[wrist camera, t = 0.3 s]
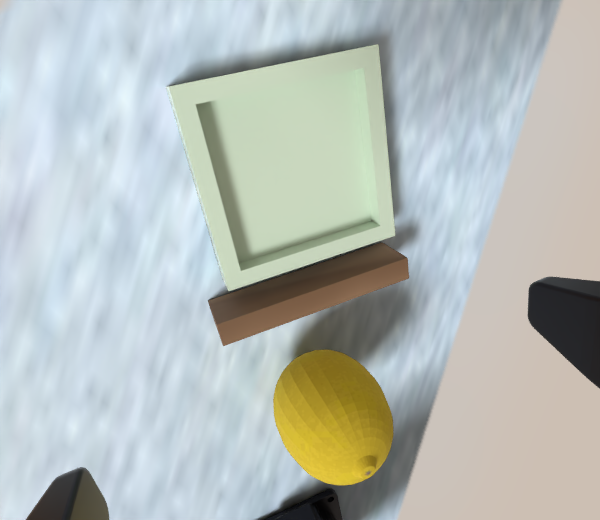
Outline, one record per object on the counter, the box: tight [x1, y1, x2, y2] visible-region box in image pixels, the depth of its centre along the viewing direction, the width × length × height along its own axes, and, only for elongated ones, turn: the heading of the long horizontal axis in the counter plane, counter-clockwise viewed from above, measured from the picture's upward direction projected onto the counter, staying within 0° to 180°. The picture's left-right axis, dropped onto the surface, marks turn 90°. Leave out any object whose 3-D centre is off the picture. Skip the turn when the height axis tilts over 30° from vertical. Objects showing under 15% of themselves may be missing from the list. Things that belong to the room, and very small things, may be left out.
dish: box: [166, 44, 395, 291], centre depth 19 cm, size 9×9×2 cm
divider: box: [208, 242, 409, 346], centre depth 22 cm, size 1×10×2 cm, turn 101°
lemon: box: [273, 350, 393, 485], centre depth 21 cm, size 6×6×8 cm
